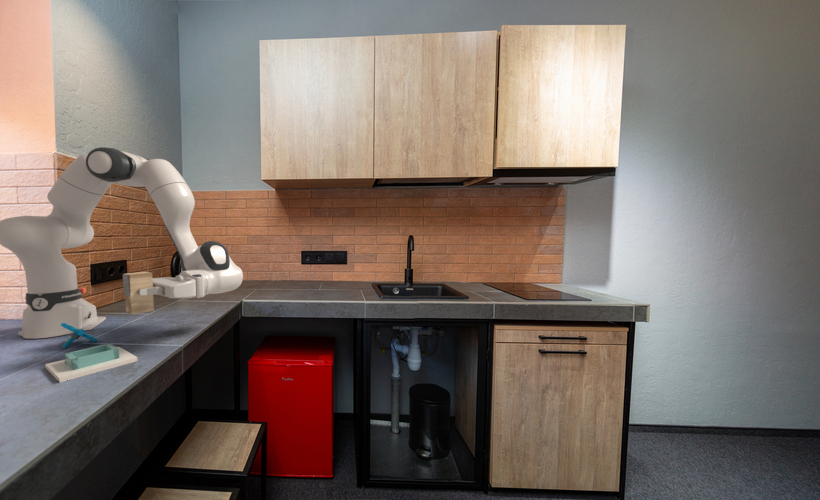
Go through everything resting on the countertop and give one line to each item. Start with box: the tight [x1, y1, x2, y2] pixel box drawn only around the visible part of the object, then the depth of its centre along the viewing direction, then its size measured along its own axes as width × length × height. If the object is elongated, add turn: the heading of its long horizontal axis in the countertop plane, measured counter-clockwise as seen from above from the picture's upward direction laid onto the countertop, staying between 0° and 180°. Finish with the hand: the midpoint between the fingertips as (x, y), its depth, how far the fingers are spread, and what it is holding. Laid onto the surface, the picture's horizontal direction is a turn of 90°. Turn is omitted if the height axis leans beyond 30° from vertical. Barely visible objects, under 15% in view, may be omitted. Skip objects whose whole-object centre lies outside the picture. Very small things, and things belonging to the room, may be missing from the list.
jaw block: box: [122, 271, 155, 315], centre depth 88 cm, size 4×6×11 cm
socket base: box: [44, 342, 139, 384], centre depth 80 cm, size 14×14×4 cm
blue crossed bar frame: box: [61, 323, 99, 349], centre depth 93 cm, size 11×6×10 cm
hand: (135, 291), depth 88 cm, fingers closed on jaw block, 4 cm apart
